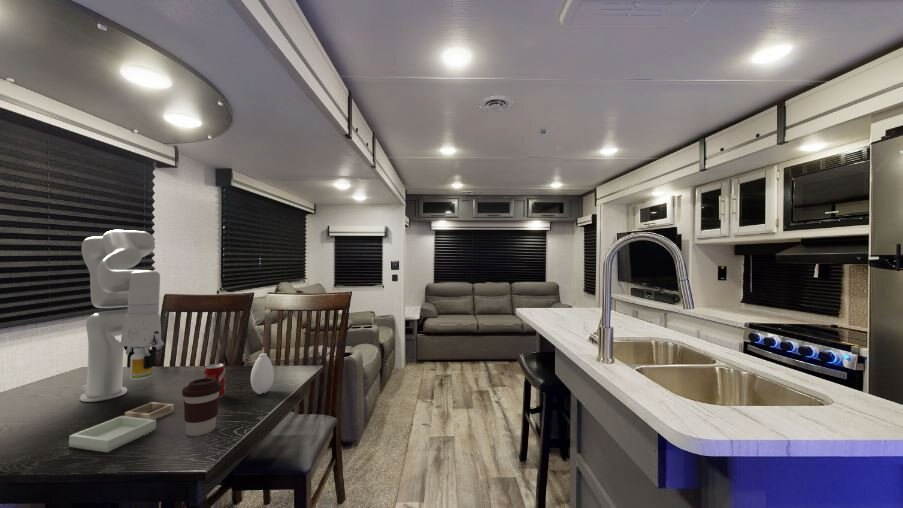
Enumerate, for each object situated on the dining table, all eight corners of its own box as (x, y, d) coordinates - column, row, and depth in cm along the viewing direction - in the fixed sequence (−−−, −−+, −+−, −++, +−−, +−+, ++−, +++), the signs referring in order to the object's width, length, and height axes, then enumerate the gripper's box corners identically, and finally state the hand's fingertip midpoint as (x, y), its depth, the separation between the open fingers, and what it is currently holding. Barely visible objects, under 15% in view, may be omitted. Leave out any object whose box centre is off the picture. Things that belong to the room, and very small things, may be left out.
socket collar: (124, 420, 113) (124, 412, 113) (152, 409, 122) (152, 401, 122) (146, 423, 112) (147, 415, 112) (173, 411, 120) (173, 404, 120)
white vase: (245, 395, 136) (247, 348, 137) (263, 388, 144) (264, 344, 144) (260, 398, 134) (262, 350, 134) (277, 391, 141) (279, 346, 141)
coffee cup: (189, 442, 101) (191, 389, 101) (174, 433, 106) (176, 382, 106) (226, 429, 109) (228, 379, 109) (211, 420, 114) (212, 374, 115)
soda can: (213, 402, 129) (215, 368, 130) (198, 400, 131) (199, 367, 131) (228, 395, 136) (230, 363, 136) (213, 393, 137) (215, 362, 138)
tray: (68, 446, 97) (69, 435, 97) (121, 425, 110) (121, 415, 110) (106, 452, 95) (107, 440, 95) (155, 430, 107) (156, 420, 107)
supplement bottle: (155, 376, 113) (156, 345, 114) (135, 381, 109) (136, 349, 109) (146, 374, 116) (147, 344, 116) (125, 379, 111) (126, 347, 111)
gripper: (108, 310, 110) (105, 368, 110) (154, 312, 108) (152, 372, 107) (133, 307, 118) (130, 362, 117) (177, 309, 115) (175, 365, 114)
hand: (141, 366), depth 112 cm, fingers closed on supplement bottle, 5 cm apart
